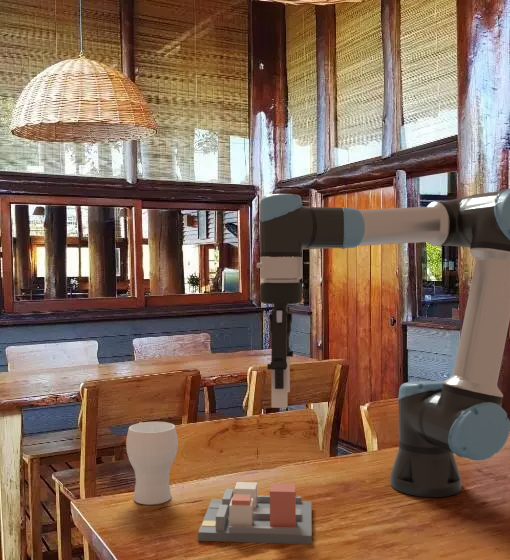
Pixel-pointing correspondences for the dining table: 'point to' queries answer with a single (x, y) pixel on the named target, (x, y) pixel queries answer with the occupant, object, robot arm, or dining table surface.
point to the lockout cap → (282, 505)
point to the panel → (255, 523)
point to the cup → (152, 459)
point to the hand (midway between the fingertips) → (281, 399)
